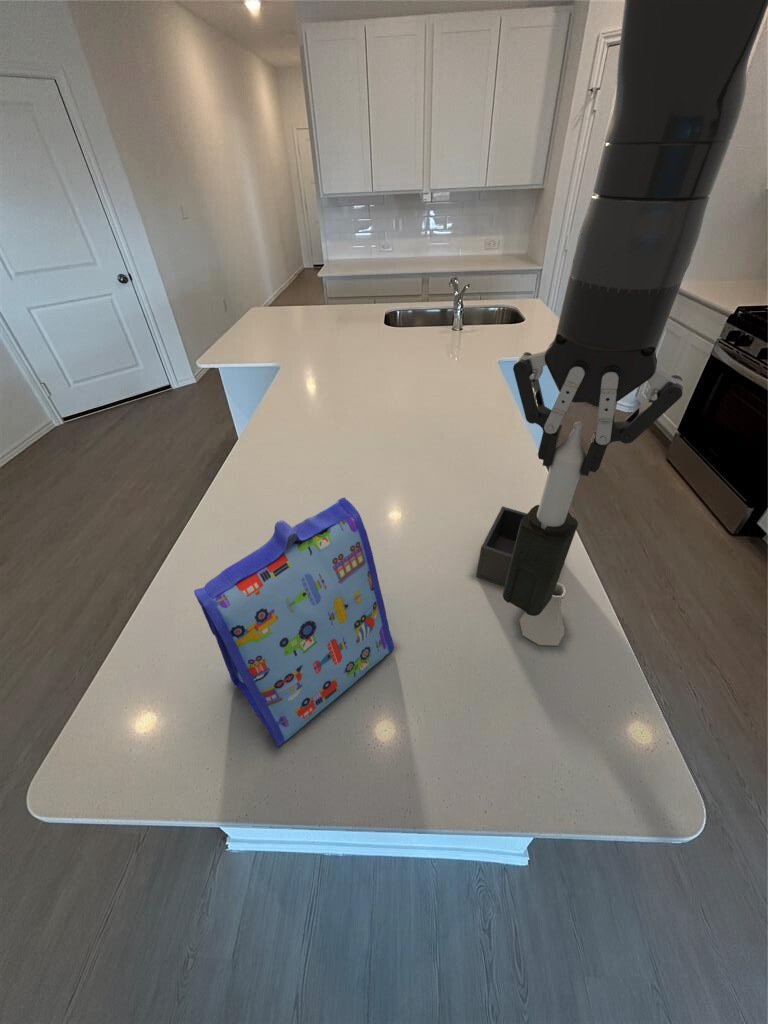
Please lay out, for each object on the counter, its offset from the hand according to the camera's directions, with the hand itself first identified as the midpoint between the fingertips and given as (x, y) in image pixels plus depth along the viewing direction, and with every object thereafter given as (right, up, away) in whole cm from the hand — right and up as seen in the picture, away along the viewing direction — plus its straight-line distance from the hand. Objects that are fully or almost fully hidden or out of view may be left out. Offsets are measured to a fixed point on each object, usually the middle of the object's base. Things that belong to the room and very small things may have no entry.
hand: (566, 466), depth 43 cm
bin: (+7, -15, +40) cm, 43 cm away
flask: (+8, -24, +29) cm, 39 cm away
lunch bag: (-28, -29, +25) cm, 48 cm away
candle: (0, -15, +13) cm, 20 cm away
